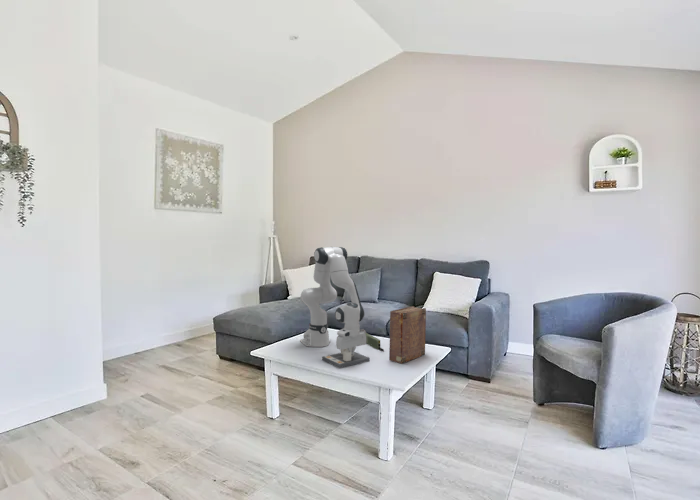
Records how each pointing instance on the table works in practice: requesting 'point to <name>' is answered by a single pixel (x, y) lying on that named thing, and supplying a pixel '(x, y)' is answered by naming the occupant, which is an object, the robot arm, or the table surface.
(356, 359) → the switch panel
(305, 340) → the robot arm
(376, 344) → the handheld radio
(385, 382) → the table surface
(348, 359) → the block
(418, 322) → the book
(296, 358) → the table surface
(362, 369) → the table surface
